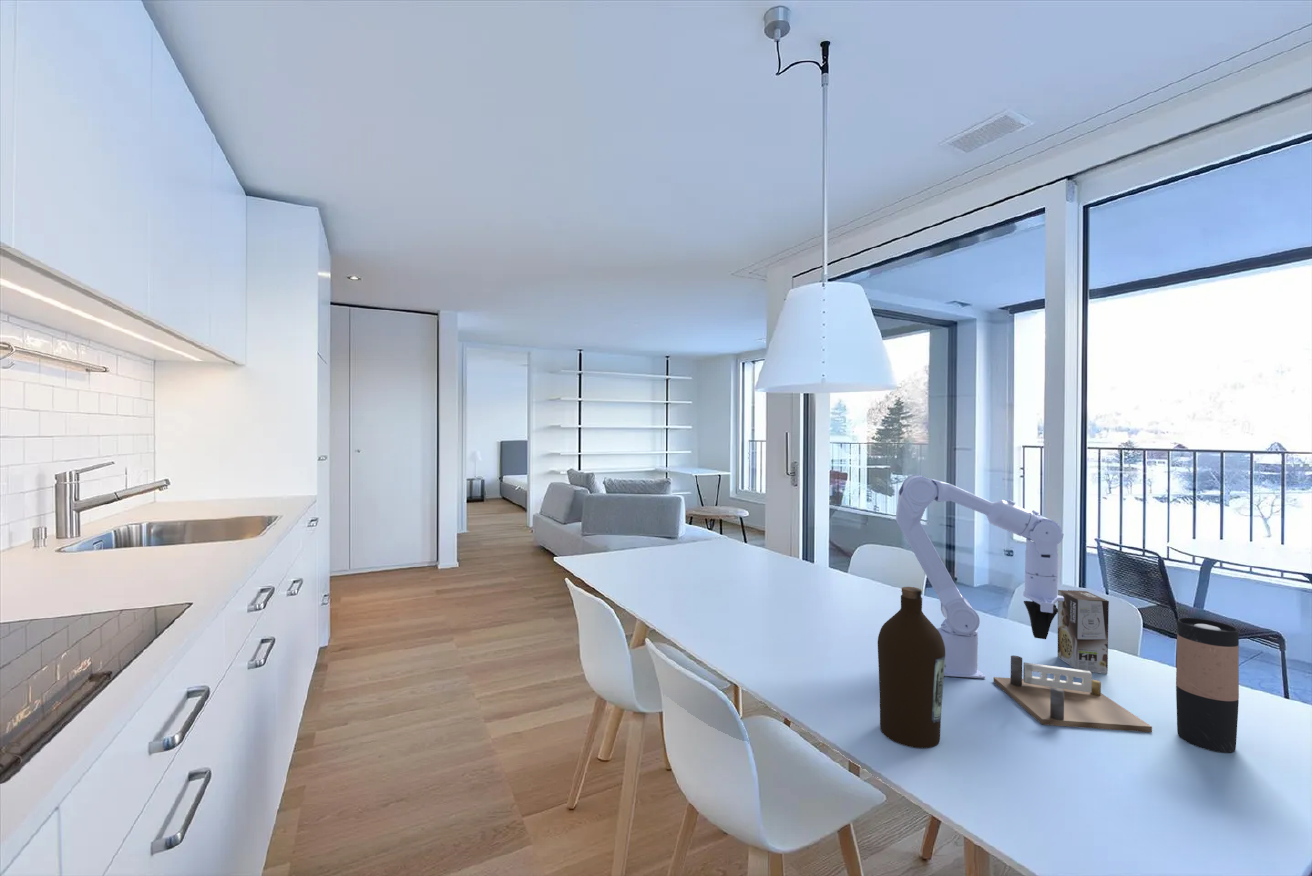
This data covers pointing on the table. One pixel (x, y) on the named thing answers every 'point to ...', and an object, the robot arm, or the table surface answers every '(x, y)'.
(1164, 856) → the table surface
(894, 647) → the olive oil
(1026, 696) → the board
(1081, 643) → the coffee box
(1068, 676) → the gate
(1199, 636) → the travel mug
